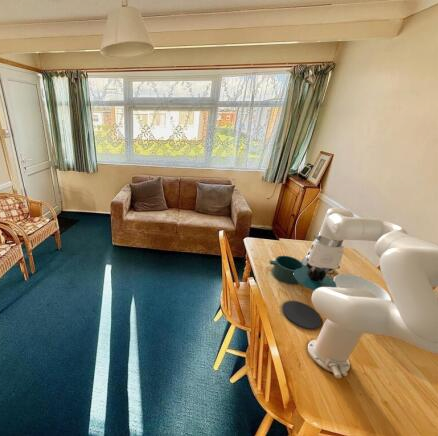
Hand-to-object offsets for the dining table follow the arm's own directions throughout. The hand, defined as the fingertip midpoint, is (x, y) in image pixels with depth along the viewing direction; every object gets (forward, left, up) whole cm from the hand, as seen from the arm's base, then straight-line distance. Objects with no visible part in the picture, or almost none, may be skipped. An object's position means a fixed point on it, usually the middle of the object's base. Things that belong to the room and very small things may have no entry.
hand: (314, 277), depth 94 cm
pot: (+27, -1, -21) cm, 34 cm away
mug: (+39, -23, -21) cm, 50 cm away
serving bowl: (+16, -29, -21) cm, 39 cm away
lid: (0, 0, -1) cm, 1 cm away
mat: (-1, 0, -21) cm, 21 cm away
